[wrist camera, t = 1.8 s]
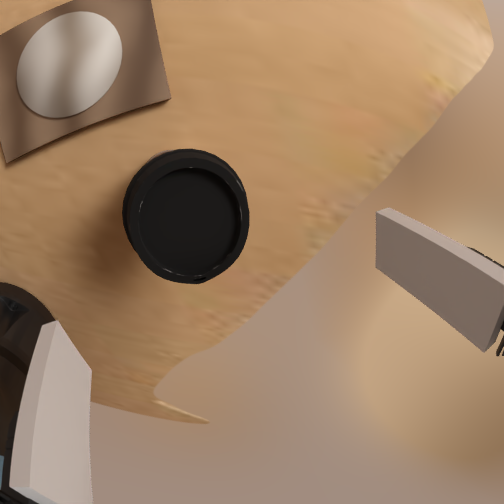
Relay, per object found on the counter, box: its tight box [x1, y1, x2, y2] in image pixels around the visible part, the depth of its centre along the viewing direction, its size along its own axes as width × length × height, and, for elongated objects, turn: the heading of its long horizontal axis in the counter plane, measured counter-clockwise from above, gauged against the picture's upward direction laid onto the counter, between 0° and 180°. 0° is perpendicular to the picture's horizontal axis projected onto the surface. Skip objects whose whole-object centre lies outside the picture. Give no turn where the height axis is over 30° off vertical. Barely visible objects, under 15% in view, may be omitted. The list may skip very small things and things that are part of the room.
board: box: [0, 0, 171, 163], centre depth 21 cm, size 18×14×2 cm
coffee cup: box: [122, 149, 249, 284], centre depth 24 cm, size 8×8×15 cm
